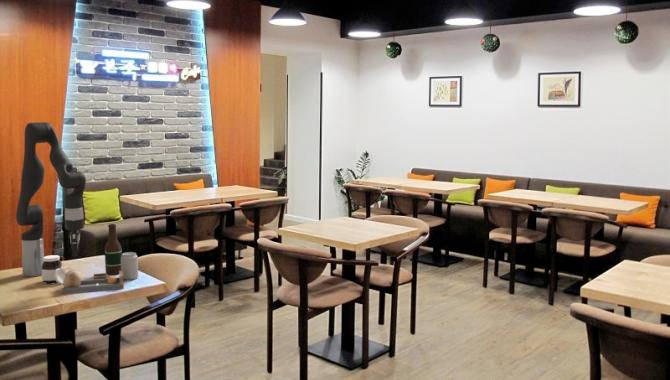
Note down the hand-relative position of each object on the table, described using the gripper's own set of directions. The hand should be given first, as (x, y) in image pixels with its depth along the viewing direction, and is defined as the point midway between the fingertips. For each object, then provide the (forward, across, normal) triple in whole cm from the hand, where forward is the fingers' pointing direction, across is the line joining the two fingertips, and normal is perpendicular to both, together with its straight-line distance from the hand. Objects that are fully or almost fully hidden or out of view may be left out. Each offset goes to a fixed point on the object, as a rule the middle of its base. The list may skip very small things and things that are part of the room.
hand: (75, 254), depth 273 cm
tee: (+16, -9, +9) cm, 20 cm away
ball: (+13, 0, +15) cm, 19 cm away
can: (+16, -11, +22) cm, 29 cm away
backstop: (+15, 0, +18) cm, 24 cm away
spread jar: (+16, -15, -10) cm, 24 cm away
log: (+16, 0, -2) cm, 16 cm away
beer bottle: (+16, -23, +15) cm, 32 cm away
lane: (+15, 0, +6) cm, 17 cm away
